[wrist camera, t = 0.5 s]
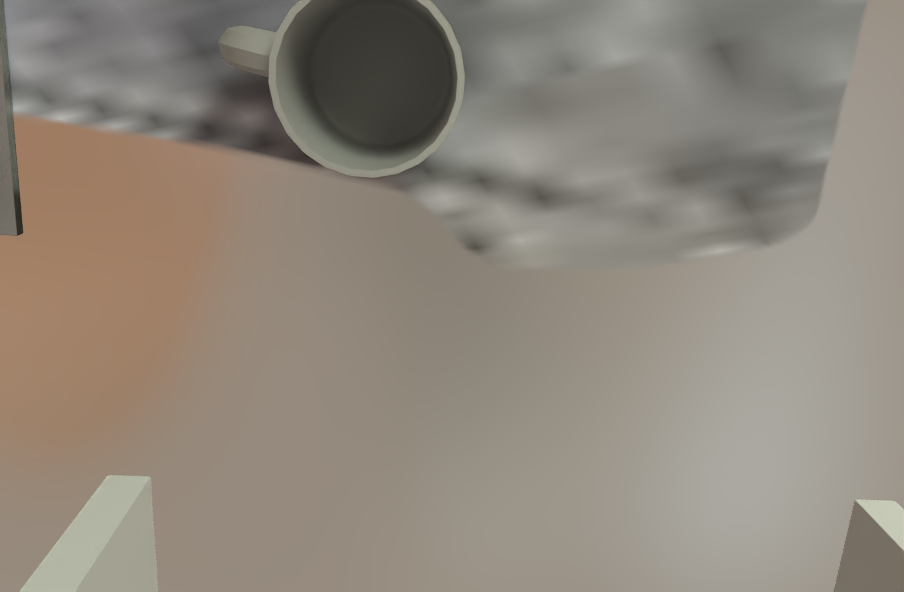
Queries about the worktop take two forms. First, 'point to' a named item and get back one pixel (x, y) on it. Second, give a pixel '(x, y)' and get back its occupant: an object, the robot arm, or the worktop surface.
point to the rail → (7, 147)
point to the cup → (358, 80)
